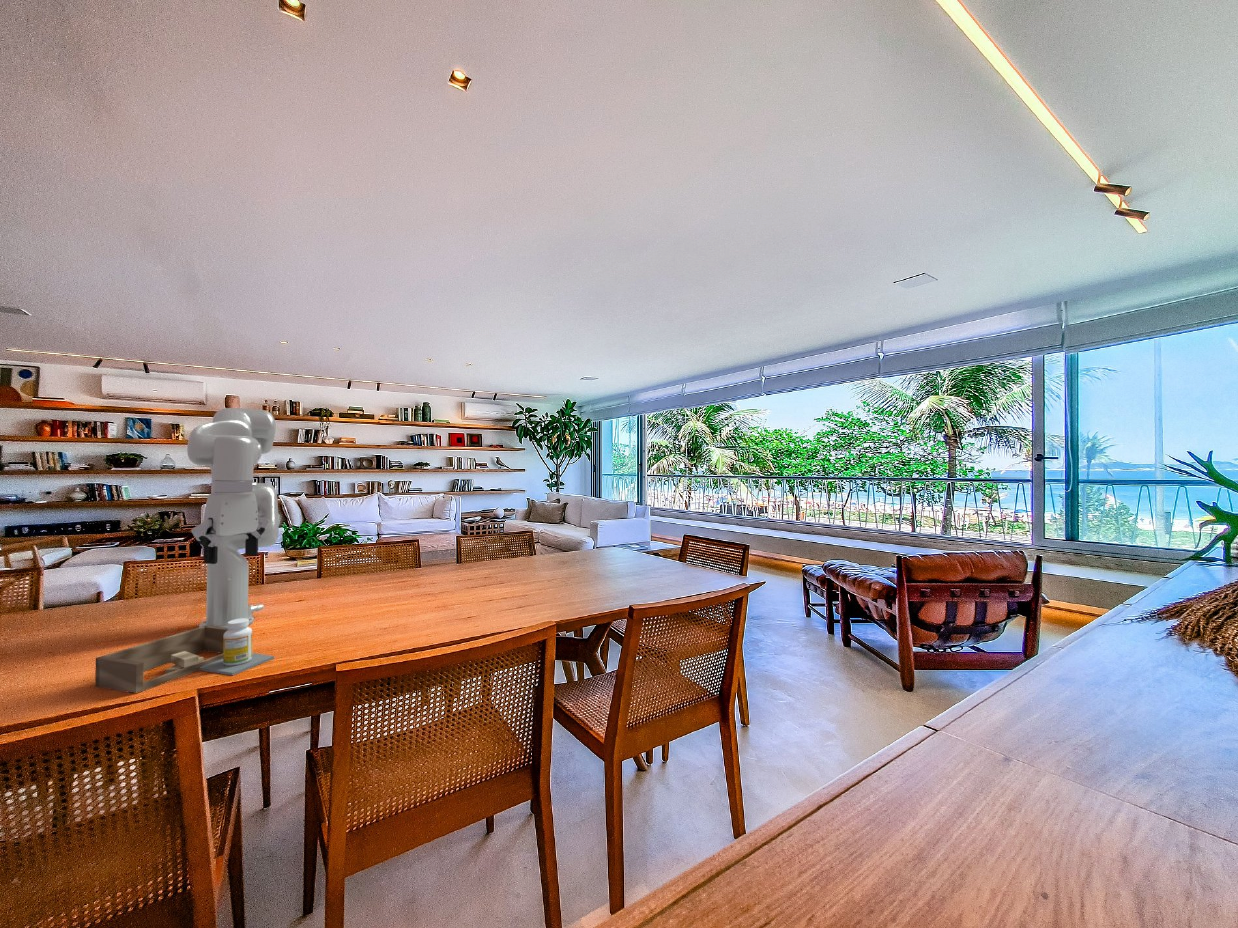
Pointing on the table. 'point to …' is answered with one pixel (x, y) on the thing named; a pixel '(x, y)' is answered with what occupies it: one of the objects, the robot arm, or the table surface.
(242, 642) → the supplement bottle
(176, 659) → the offcut upper
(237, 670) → the mat
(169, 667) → the offcut lower
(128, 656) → the frame
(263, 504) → the robot arm
